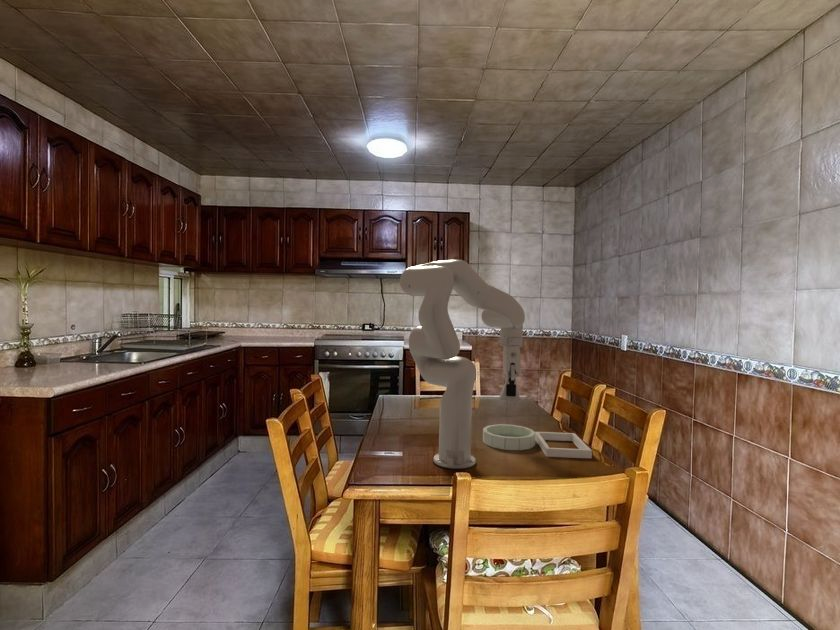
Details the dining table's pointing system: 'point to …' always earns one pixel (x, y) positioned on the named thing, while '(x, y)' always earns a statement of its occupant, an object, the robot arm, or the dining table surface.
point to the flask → (508, 398)
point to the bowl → (508, 437)
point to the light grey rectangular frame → (563, 452)
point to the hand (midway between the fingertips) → (509, 394)
